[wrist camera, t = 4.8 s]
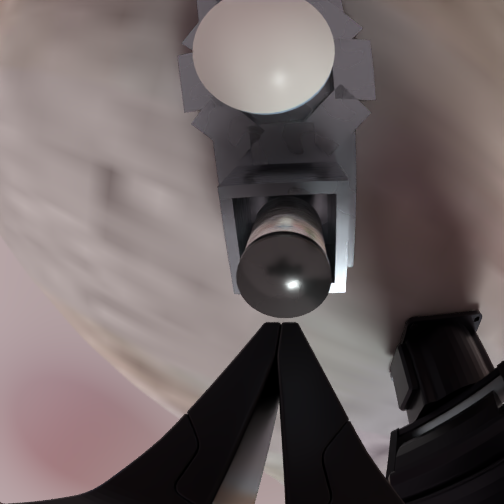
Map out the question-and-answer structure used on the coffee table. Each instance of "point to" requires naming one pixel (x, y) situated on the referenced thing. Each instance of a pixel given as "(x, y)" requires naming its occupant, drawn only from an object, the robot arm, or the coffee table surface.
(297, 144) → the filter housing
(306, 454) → the robot arm
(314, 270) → the plunger
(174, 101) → the coffee table surface
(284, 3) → the cartridge
